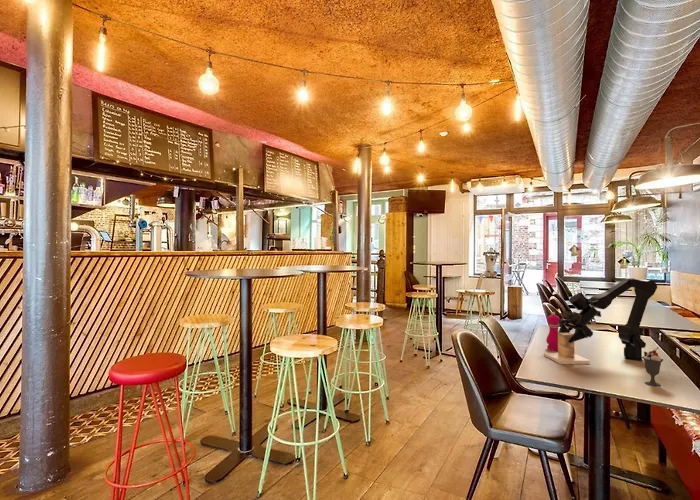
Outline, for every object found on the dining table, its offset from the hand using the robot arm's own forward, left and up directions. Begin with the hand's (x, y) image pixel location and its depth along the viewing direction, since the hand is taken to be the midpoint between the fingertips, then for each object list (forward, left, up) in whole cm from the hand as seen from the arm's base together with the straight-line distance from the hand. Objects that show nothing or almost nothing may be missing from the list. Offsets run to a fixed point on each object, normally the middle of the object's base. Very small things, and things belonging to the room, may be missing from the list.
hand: (563, 339), depth 179 cm
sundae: (-32, +19, -10) cm, 39 cm away
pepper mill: (+6, -19, -10) cm, 22 cm away
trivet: (-1, -1, -10) cm, 10 cm away
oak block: (-1, -1, -8) cm, 8 cm away
